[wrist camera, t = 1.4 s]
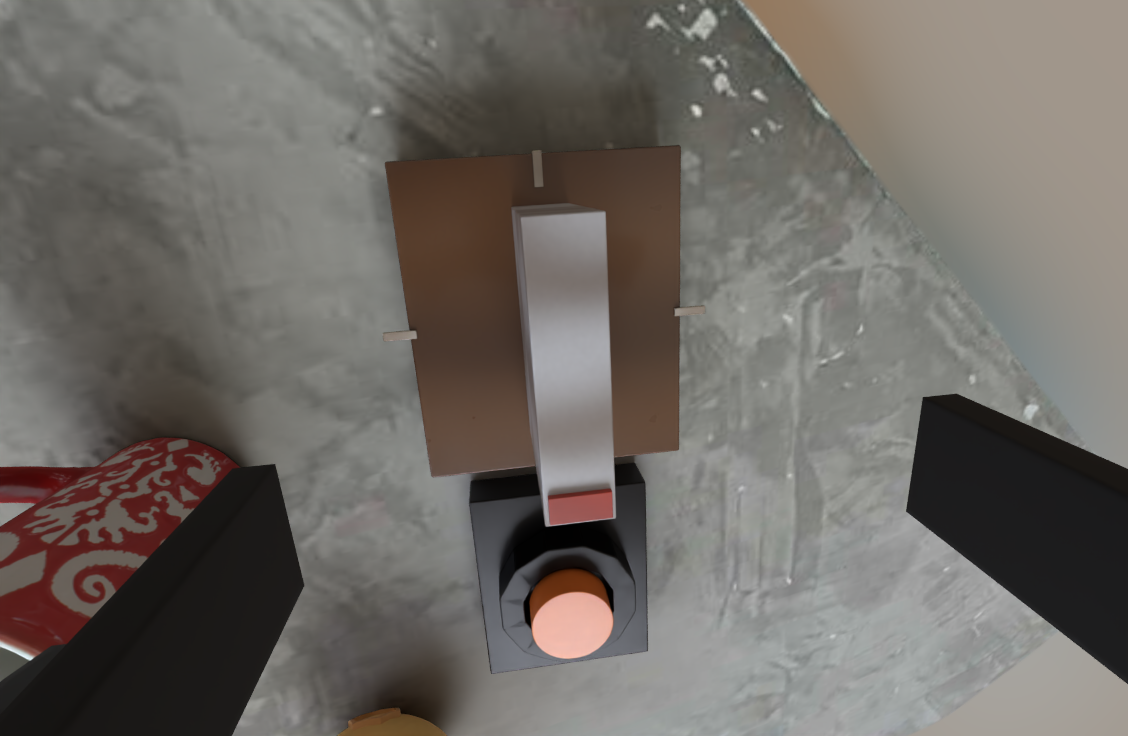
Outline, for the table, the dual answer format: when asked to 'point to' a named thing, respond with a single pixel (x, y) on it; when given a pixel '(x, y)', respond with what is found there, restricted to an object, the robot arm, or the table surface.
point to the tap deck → (491, 300)
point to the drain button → (570, 613)
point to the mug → (89, 535)
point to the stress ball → (390, 725)
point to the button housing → (556, 564)
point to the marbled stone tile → (567, 357)
